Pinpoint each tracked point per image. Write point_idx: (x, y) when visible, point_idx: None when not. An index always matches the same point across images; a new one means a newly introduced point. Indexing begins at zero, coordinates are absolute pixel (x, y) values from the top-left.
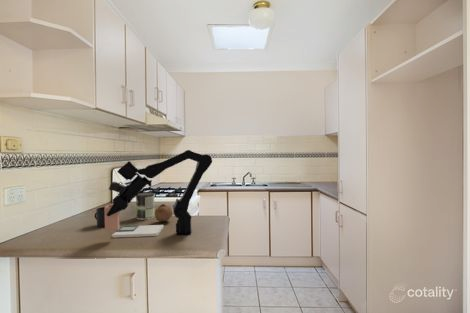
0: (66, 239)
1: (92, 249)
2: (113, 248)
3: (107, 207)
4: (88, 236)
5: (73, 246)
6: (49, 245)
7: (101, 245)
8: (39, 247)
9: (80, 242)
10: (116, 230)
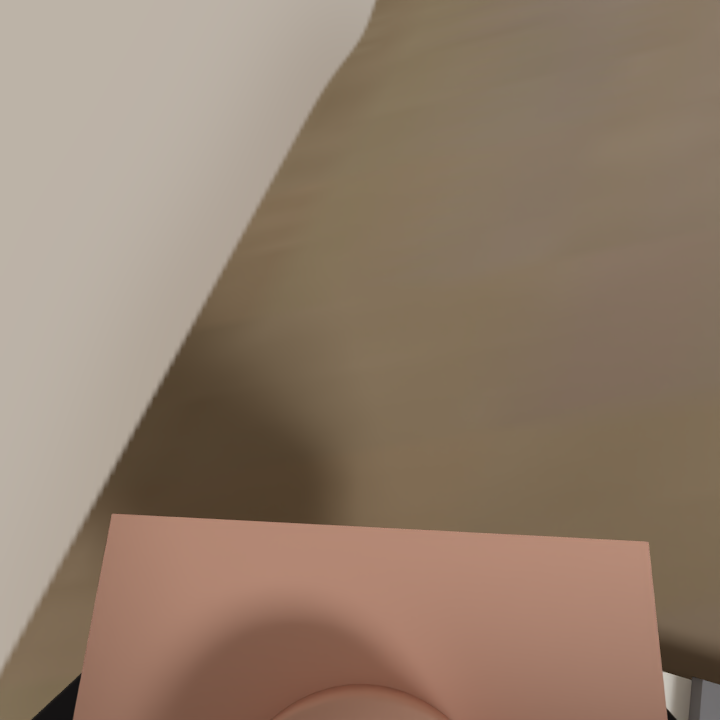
0: (606, 134)
1: (129, 450)
2: (29, 698)
3: (107, 649)
4: (662, 319)
5: (329, 247)
6: (453, 54)
7: None
8: (424, 4)
9: (444, 282)
10: (700, 689)
